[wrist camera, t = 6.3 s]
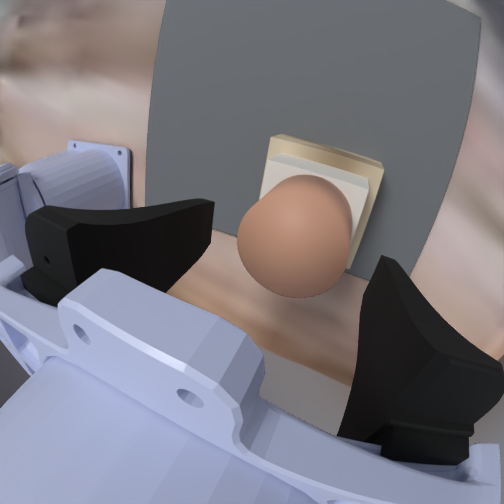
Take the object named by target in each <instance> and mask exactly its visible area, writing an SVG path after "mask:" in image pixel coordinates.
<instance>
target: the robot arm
mask: <svg viewBox="0 0 504 504" xmlns="http://www.w3.org/2000/svg"><path fill="white" fill-rule="evenodd" d="M67 148H68V150H66V151H63V152H60V153H57V154H53V155H51V156H48V157H45V158H42V159H39V160H36V161H33V162H31V163H28V164H26V165H24V166H23V167H21V168H20V169H19V170H18V166H16V165H15V166H14V164H12V163H11V162H9V163H5V164H3V165H0V340H1V341H2V342H3V344H4V345H5V346H6V347H7V349H8V350H9V351H10V352H11V353H12V355H13V356H14V357H15V358H16V360H17V361H18V362H19V363H20V364H21V365H22V367H23V368H24V369H25V370H26V371H27V372H28V374H29V375H30V376H31V377H30V378H29V379H28V380H27V381H26V382H25V383H24V384H23V385H22V386H21V388H19V389H18V390H17V392H16V393H15V394H14V395H13V396H12V397H11V398H10V399H9V400H8V401H7V402H6V403H5V404H4V405H3V406H2V407H1V408H0V504H500V499H501V498H500V497H501V470H500V453H499V444H497V443H475V444H472V445H470V446H469V437H471V436H472V435H473V434H474V423H475V422H477V421H478V420H479V419H480V418H481V417H483V416H484V415H485V414H486V413H487V412H488V411H489V410H491V409H492V408H493V407H494V406H495V405H496V404H497V403H498V402H499V400H500V399H501V397H502V395H503V394H504V371H503V367H502V364H501V363H500V362H498V361H497V360H495V359H494V358H492V357H491V356H489V355H487V354H486V353H484V352H483V351H481V350H480V349H478V348H477V347H476V346H474V345H473V344H472V343H470V342H469V341H468V340H467V339H465V338H464V337H463V336H462V335H461V334H459V333H458V332H457V331H456V330H455V329H454V328H453V327H452V326H451V325H449V324H448V323H447V322H446V321H445V320H444V319H443V318H442V317H441V316H440V314H439V313H438V312H437V311H436V310H435V309H434V308H433V307H432V306H431V305H430V303H429V302H428V301H427V300H426V299H425V297H424V296H423V295H422V294H421V292H420V291H419V290H418V288H417V287H416V286H415V284H414V283H413V282H412V280H411V279H410V278H409V276H408V275H407V273H406V272H405V271H404V269H403V268H402V267H401V266H400V264H399V263H398V262H397V261H396V260H395V259H392V258H389V257H386V256H384V255H381V257H380V259H379V261H378V264H377V266H376V268H375V271H374V273H373V275H372V277H371V279H370V282H369V284H368V286H367V288H366V290H365V292H364V294H363V300H362V305H361V311H360V321H359V340H358V355H357V364H356V370H355V374H354V379H353V383H352V387H351V392H350V395H349V399H348V403H347V406H346V410H345V413H344V416H343V419H342V422H341V425H340V428H339V431H338V434H337V436H334V435H331V434H329V433H327V432H325V431H323V430H321V429H319V428H317V427H315V426H313V425H311V424H309V423H307V422H305V421H303V420H301V419H300V418H298V417H295V416H294V415H292V414H290V413H288V412H286V411H285V410H283V409H281V408H279V407H278V406H276V405H274V404H272V403H271V402H269V401H267V400H265V399H264V398H262V397H260V396H259V391H260V387H261V384H262V381H263V378H264V376H265V365H264V355H263V353H262V352H261V351H260V350H259V348H258V347H257V346H256V344H255V343H254V342H253V341H252V339H251V338H250V337H249V336H248V334H247V333H246V332H245V331H243V330H242V329H240V328H238V327H237V326H235V325H233V324H232V323H230V322H229V321H227V320H225V319H224V318H222V317H220V316H217V315H215V314H212V313H210V312H208V311H205V310H203V309H200V308H198V307H196V306H193V305H191V304H189V303H186V302H184V301H182V300H179V299H177V298H175V297H173V296H170V295H168V294H166V292H167V291H168V290H169V289H170V288H171V287H172V286H173V285H174V284H175V283H176V282H177V281H178V280H179V279H180V278H181V277H182V276H183V275H184V274H185V273H186V272H187V271H188V270H189V269H190V268H191V267H192V266H193V265H194V264H195V263H196V262H197V261H198V260H199V258H200V257H201V256H202V255H203V253H204V252H205V250H206V249H207V248H208V246H209V245H210V243H211V234H212V225H213V216H214V207H215V202H214V201H210V200H207V199H203V198H196V199H188V200H182V201H176V202H170V203H165V204H159V205H153V206H147V207H140V208H130V150H129V149H128V148H126V147H120V146H114V145H107V144H100V143H93V142H85V141H77V140H70V141H68V144H67ZM121 152H122V154H121Z"/></svg>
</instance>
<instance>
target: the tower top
mask: <svg viewBox="0 0 504 504" xmlns="http://www.w3.org/2000/svg"><path fill="white" fill-rule="evenodd" d="M303 174H307V175H315V176H319V177H322V178H324V179H326V180H328V181H330V182H331V183H333V184H334V185H335V186H336V187H338V188H339V189H340V190H341V192H342V193H343V194H344V196H345V197H346V199H347V201H348V203H349V205H350V208H351V212H352V230H351V239H350V245H351V242H352V239H353V236H354V233H355V231H356V228H357V225H358V222H359V219H360V216H361V213H362V210H363V207H364V204H365V201H366V198H367V195H368V191H369V185H368V178H366V177H363V176H360V175H357V174H354V173H351V172H348V171H344V170H341V169H338V168H335V167H331V166H328V165H325V164H321V163H318V162H314V161H311V160H307V159H303V158H300V157H296V156H292V155H288V154H284V153H279V154H277V155H275V156H274V157H272V158H270V159H268V160H267V165H266V170H265V176H264V181H263V187H262V192H261V197H260V199H261V198H262V197H263V196H265V195H266V194H267V193H268V192H269V191H270V190H271V189H272V188H274V187H275V186H276V185H277V184H278V183H280V182H281V181H282V180H284V179H286V178H289V177H291V176H295V175H303Z"/></svg>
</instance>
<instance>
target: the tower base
mask: <svg viewBox="0 0 504 504" xmlns="http://www.w3.org/2000/svg"><path fill="white" fill-rule="evenodd" d="M279 153H284V154H288V155H292V156H296V157H300V158H303V159H307V160H311V161H314V162H318V163H321V164H325V165H328V166H331V167H335V168H338V169H341V170H344V171H348V172H351V173H354V174H357V175H360V176H363V177H366V178H368V185H369V191H368V195H367V198H366V201H365V204H364V207H363V210H362V213H361V216H360V219H359V222H358V225H357V228H356V231H355V233H354V236H353V239H352V242H351V245H350V248H349V255H348V262H347V266H346V268H347V269H350V267H351V264H352V262H353V259H354V257H355V254H356V252H357V249H358V246H359V244H360V241H361V238H362V236H363V233H364V230H365V227H366V225H367V222H368V219H369V216H370V213H371V210H372V207H373V204H374V201H375V198H376V195H377V192H378V189H379V186H380V183H381V179H382V176H383V173H384V168H383V166H382V163H381V162H379V161H376V160H373V159H370V158H367V157H364V156H361V155H358V154H354V153H351V152H348V151H345V150H341V149H338V148H335V147H331V146H328V145H324V144H321V143H317V142H313V141H309V140H306V139H302V138H298V137H294V136H289V135H285V134H279V135H276V136H272V137H271V138H270V143H269V149H268V154H267V159H266V165H267V160H268V159H270V158H272V157H274V156H275V155H277V154H279ZM266 165H265V170H266ZM265 170H264V176H265ZM264 176H263V181H264ZM263 181H262V186H261V192H262V187H263ZM261 192H260V197H261ZM260 197H259V200H260Z"/></svg>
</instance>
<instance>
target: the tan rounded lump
mask: <svg viewBox="0 0 504 504" xmlns="http://www.w3.org/2000/svg"><path fill="white" fill-rule="evenodd" d="M351 230H352V212H351V208H350V205H349V203H348V201H347V199H346V197H345V196H344V194H343V193H342V192H341V190H340V189H339V188H338V187H336V186H335V185H334V184H333V183H331V182H330V181H328V180H326V179H324V178H322V177H319V176H315V175H307V174H303V175H295V176H291V177H289V178H286V179H284V180H282V181H281V182H280V183H278V184H277V185H276V186H275V187H274V188H272V189H271V190H270V191H269V192H268V193H267V194H266V195H265V196H263V197H262V198H261V199H260V200H259V201H258V202H257V203H256V204H254V205H253V206H252V207H251V208H250V209H249V210H248V211H247V213H246V214H245V215H244V217H243V219H242V221H241V223H240V226H239V229H238V234H237V246H238V251H239V255H240V258H241V261H242V263H243V265H244V267H245V268H246V270H247V271H248V272H249V274H250V275H251V276H252V277H253V278H254V279H255V280H256V281H257V282H258V283H259V284H260V285H262V286H263V287H265V288H266V289H268V290H270V291H272V292H274V293H276V294H279V295H282V296H286V297H292V298H307V297H312V296H316V295H319V294H321V293H323V292H325V291H327V290H328V289H330V288H331V287H332V286H334V285H335V284H336V283H337V282H338V280H339V279H340V278H341V276H342V275H343V273H344V271H345V268H346V266H347V262H348V255H349V248H350V239H351Z"/></svg>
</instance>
